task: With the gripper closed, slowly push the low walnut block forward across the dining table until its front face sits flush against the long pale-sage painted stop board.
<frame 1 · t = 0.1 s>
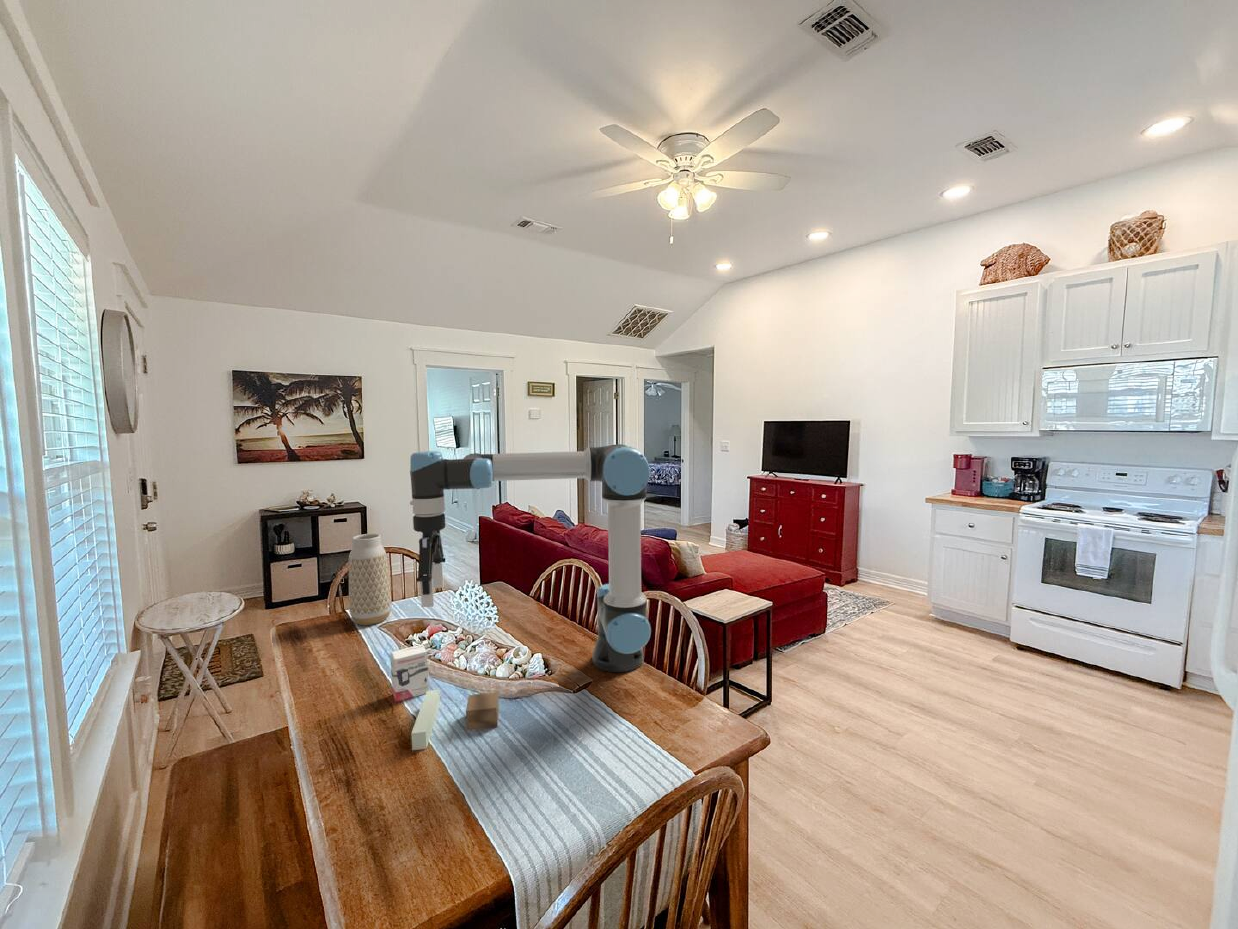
hand: (433, 596, 135), 28 cm above the table, fingers open, 13 cm apart
ink box: (411, 694, 142), on the table
push block: (483, 720, 129), on the table
vase: (371, 620, 192), on the table
stop board: (427, 725, 127), on the table
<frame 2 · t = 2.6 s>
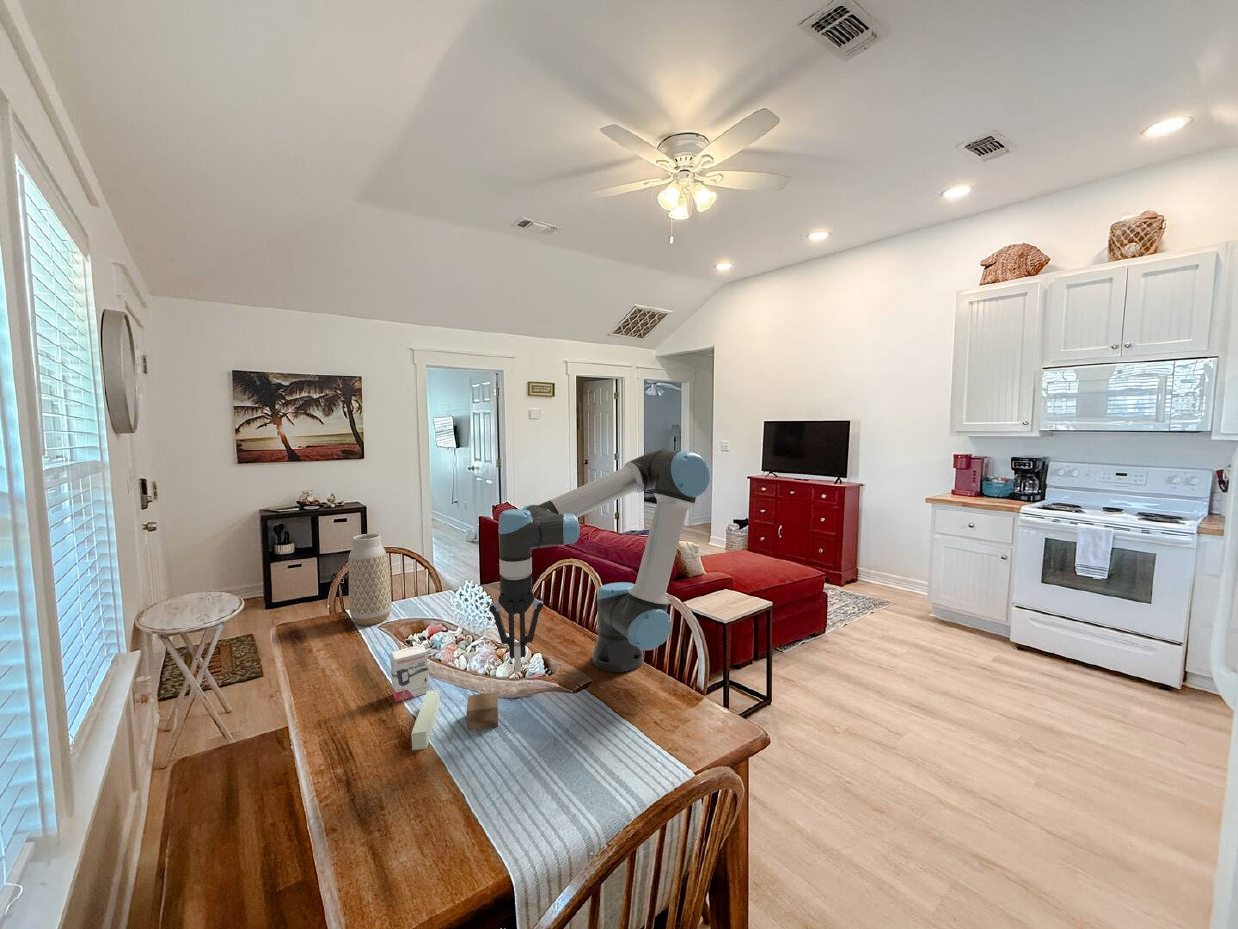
hand: (517, 669, 129), 12 cm above the table, fingers closed
nothing on the table moved.
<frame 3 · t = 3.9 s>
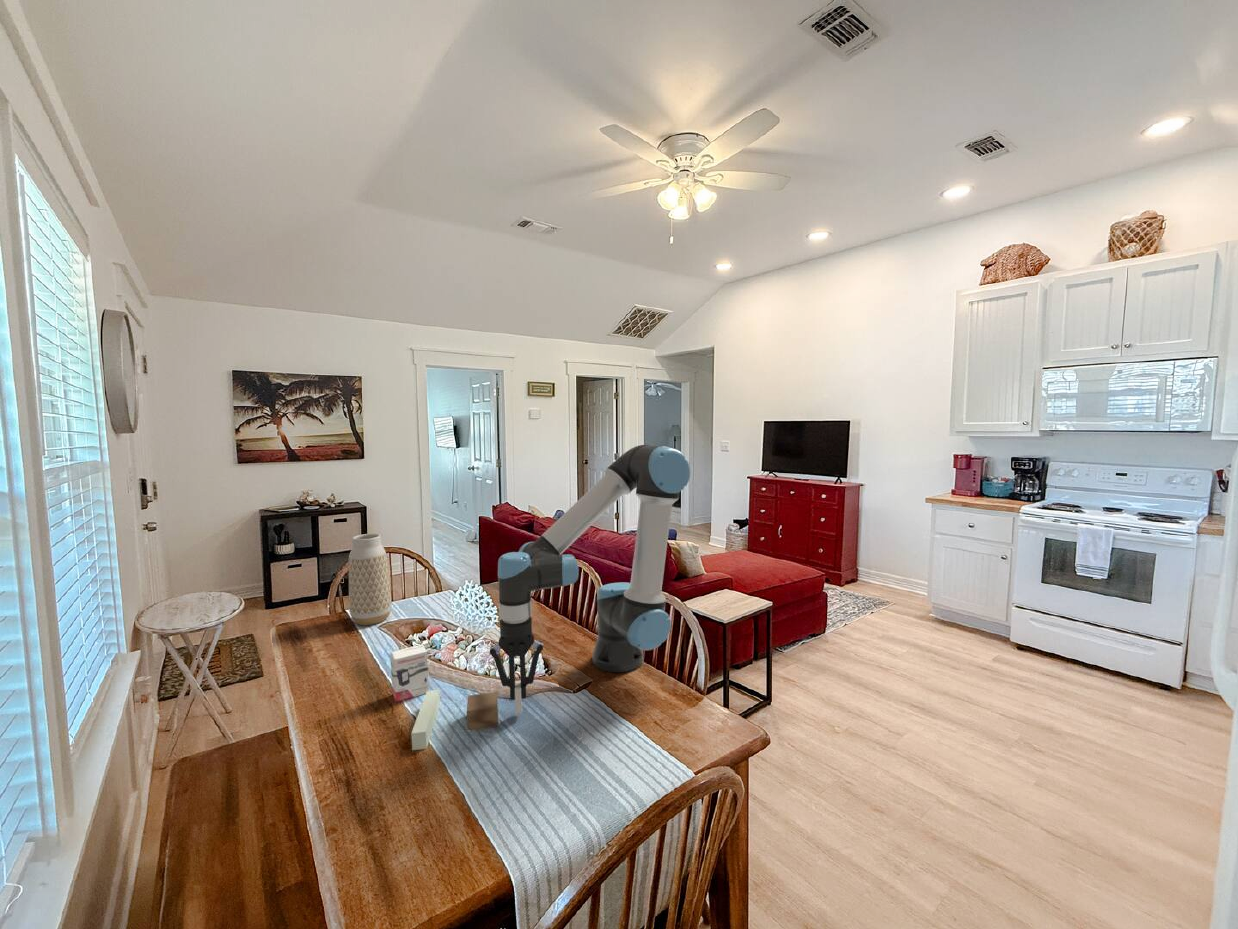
hand: (518, 710, 130), 1 cm above the table, fingers closed
nothing on the table moved.
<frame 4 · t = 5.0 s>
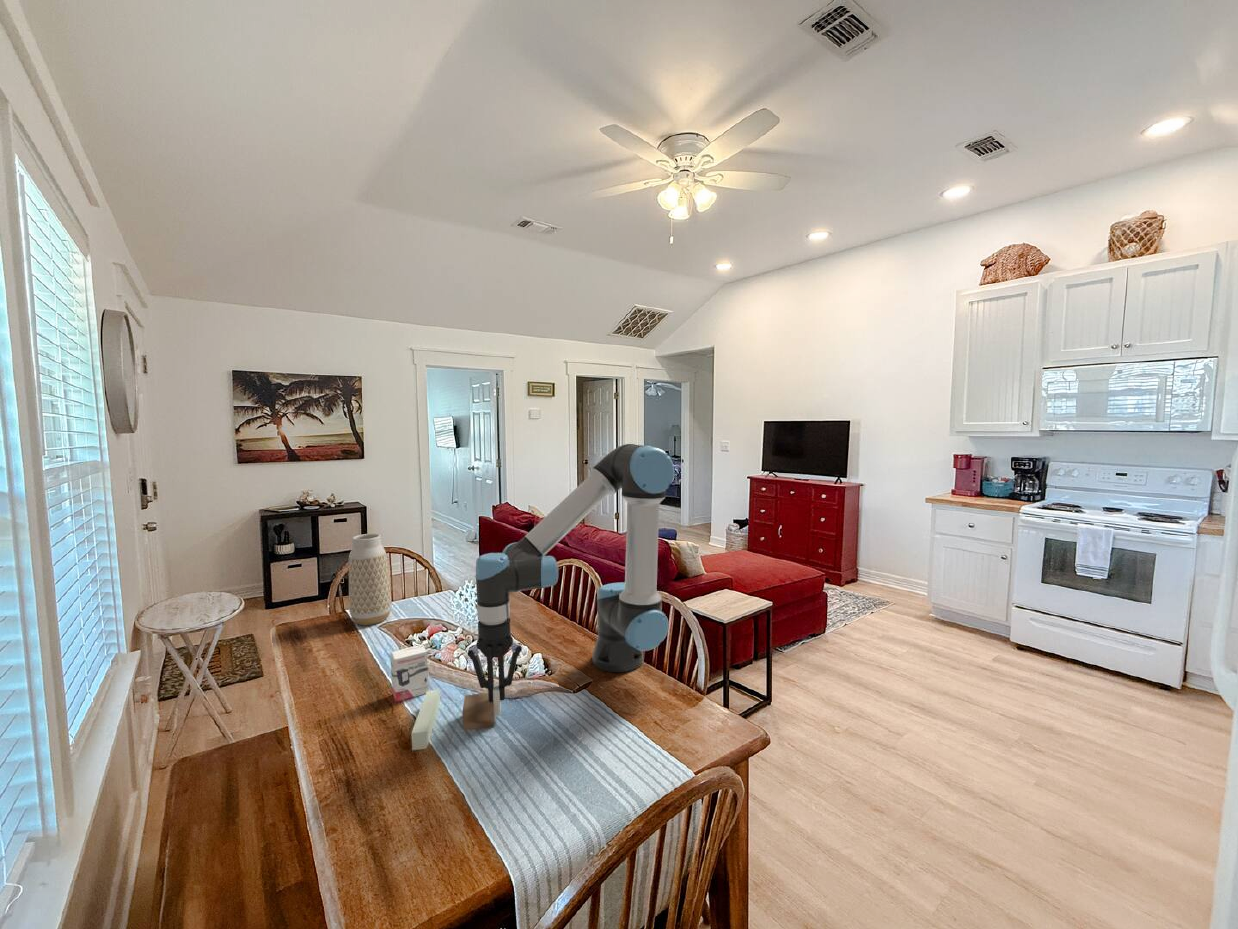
hand: (497, 712, 129), 2 cm above the table, fingers closed
push block: (479, 720, 129), on the table, touching gripper
everything else where it was.
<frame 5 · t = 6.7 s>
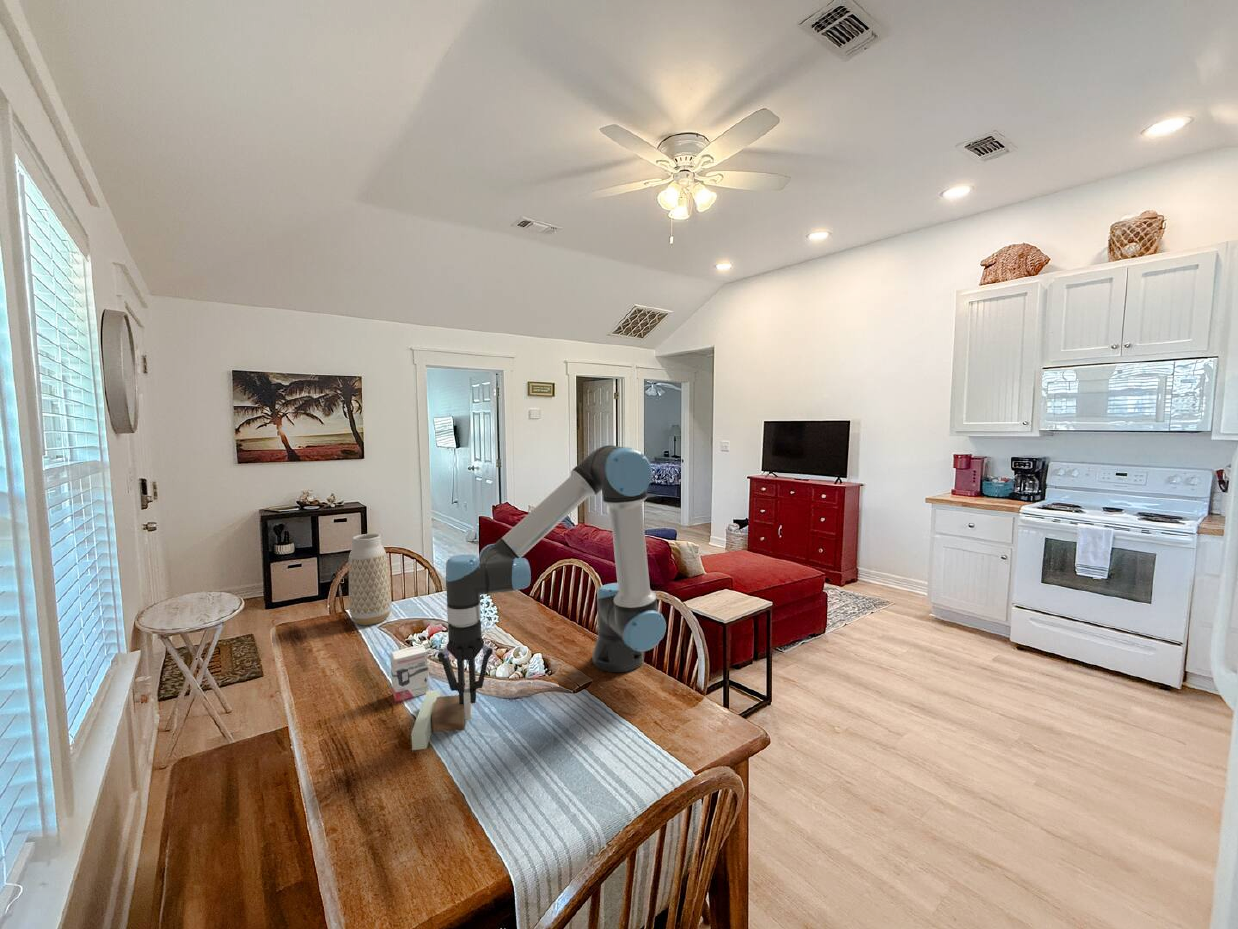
hand: (468, 715, 128), 2 cm above the table, fingers closed
push block: (450, 723, 128), on the table, touching gripper
everything else where it was.
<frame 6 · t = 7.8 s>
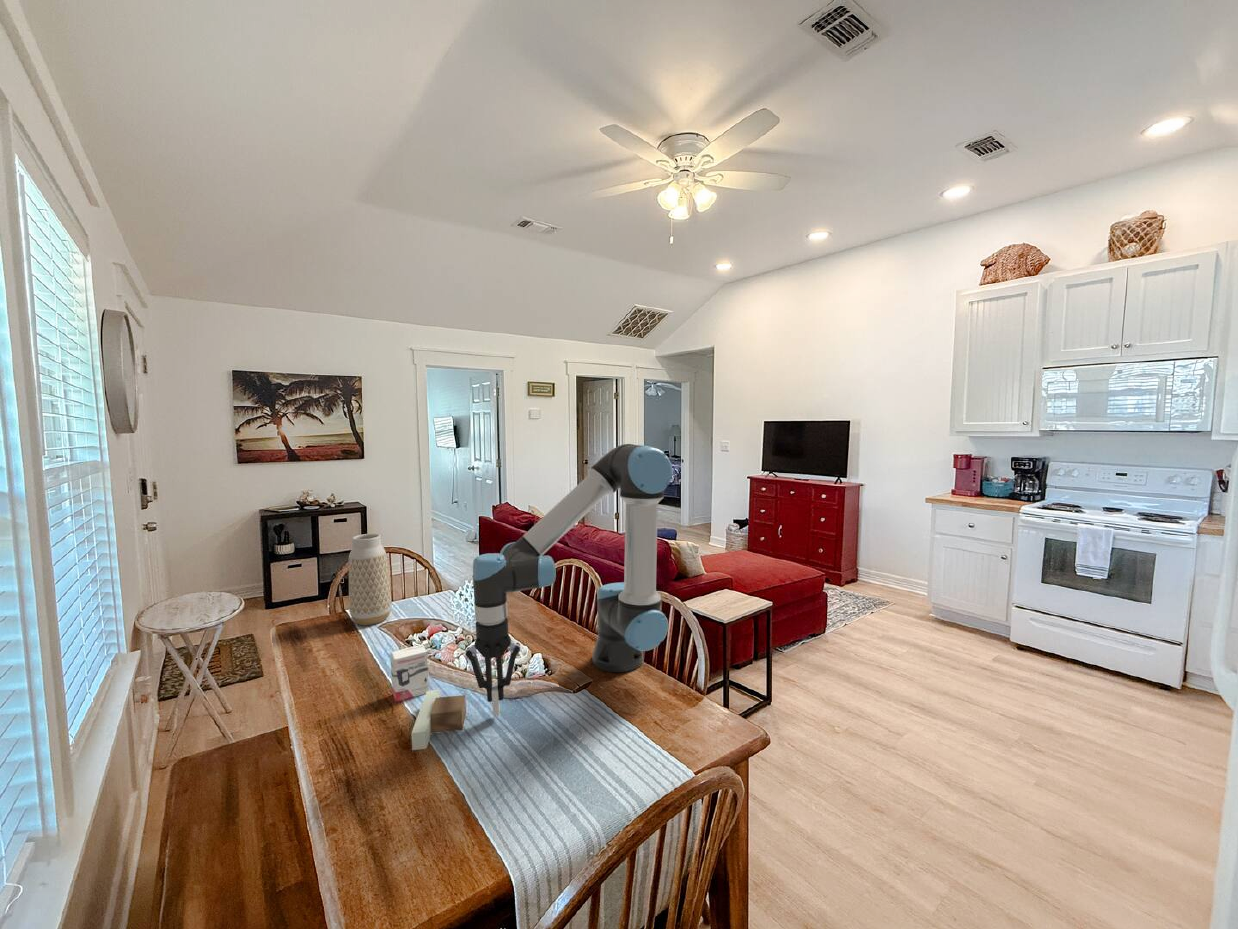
hand: (496, 712, 130), 1 cm above the table, fingers closed
push block: (449, 723, 128), on the table
everything else where it was.
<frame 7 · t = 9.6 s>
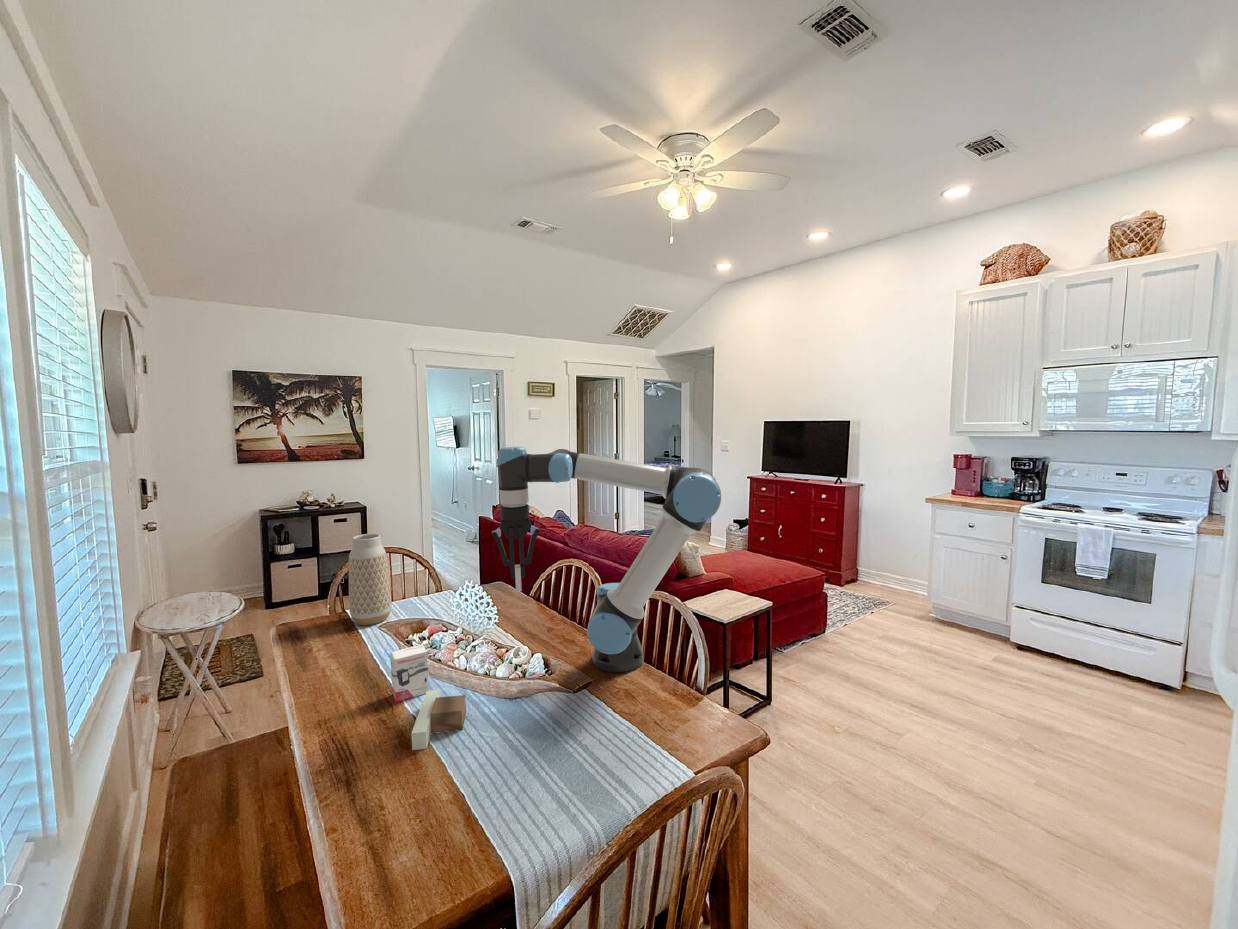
hand: (518, 589, 146), 26 cm above the table, fingers closed
nothing on the table moved.
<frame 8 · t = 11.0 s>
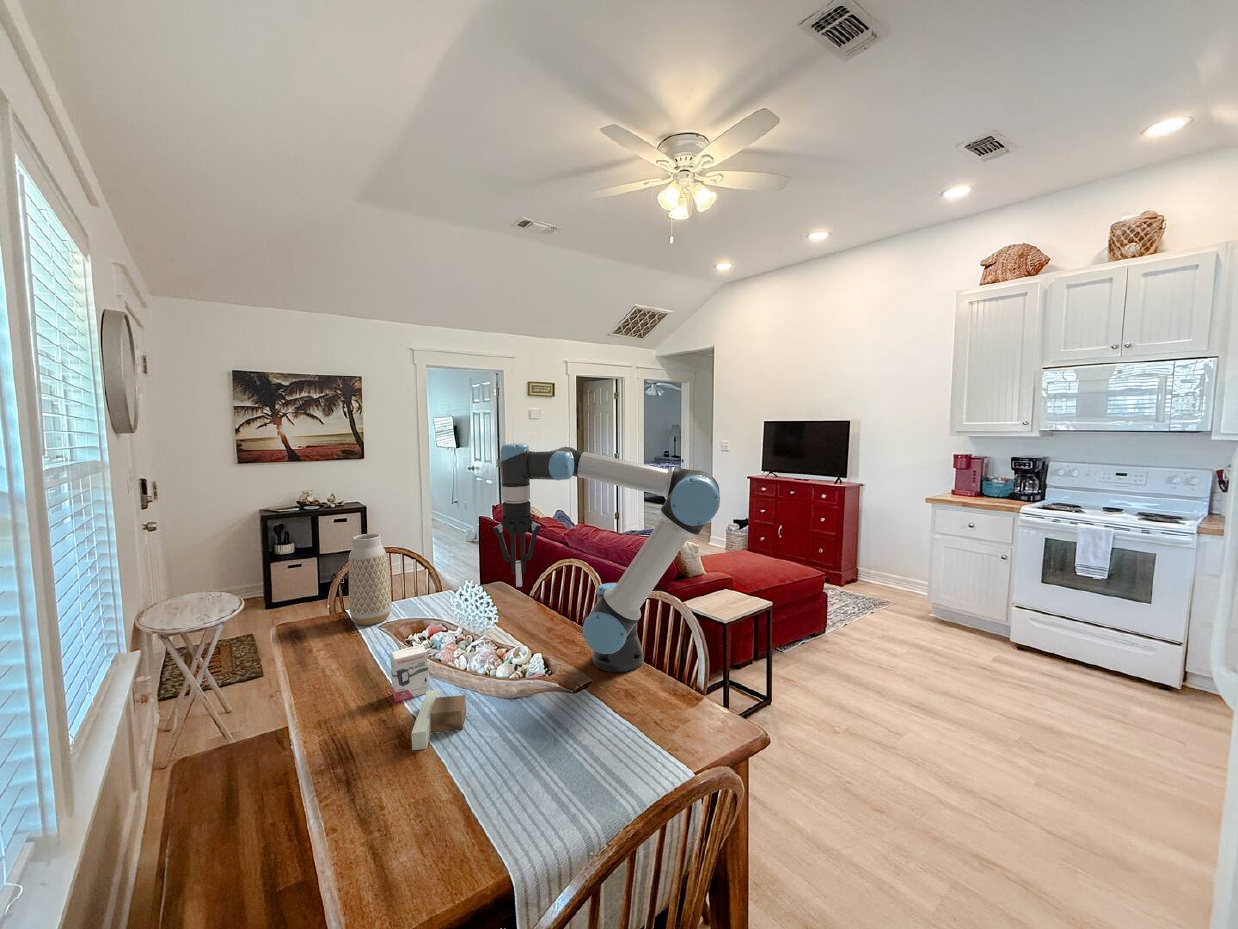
hand: (519, 584, 147), 26 cm above the table, fingers closed
nothing on the table moved.
at the end: push block inside the target area on the table beside the stop board (0.5 cm from its centre), on the table; push block tilted 0° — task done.
